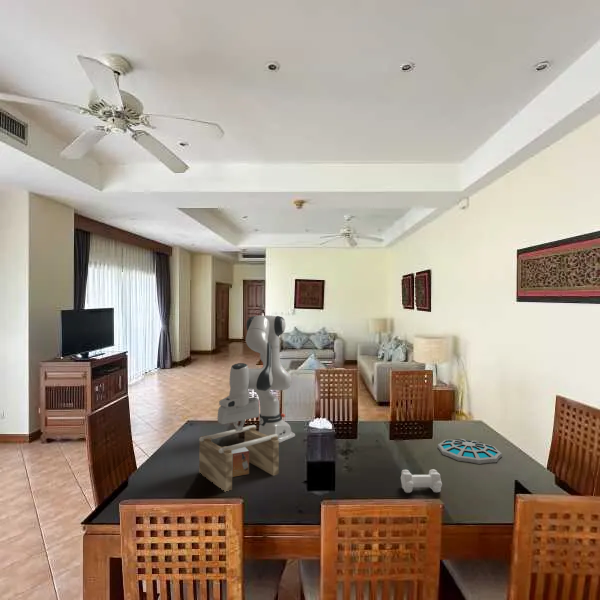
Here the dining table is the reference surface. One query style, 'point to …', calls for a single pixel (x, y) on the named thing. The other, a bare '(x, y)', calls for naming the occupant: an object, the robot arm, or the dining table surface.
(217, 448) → the rack
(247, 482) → the dining table surface
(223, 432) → the pale rod
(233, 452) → the small box
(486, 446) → the decorative platform
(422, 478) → the dog bone
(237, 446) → the off-white rod
